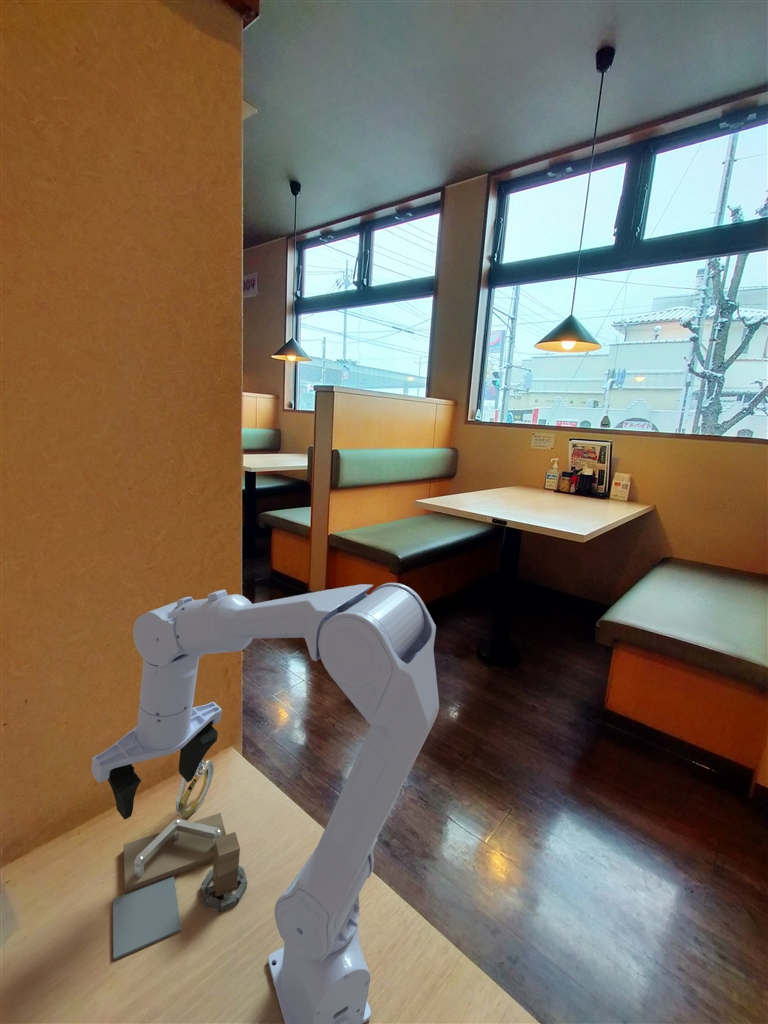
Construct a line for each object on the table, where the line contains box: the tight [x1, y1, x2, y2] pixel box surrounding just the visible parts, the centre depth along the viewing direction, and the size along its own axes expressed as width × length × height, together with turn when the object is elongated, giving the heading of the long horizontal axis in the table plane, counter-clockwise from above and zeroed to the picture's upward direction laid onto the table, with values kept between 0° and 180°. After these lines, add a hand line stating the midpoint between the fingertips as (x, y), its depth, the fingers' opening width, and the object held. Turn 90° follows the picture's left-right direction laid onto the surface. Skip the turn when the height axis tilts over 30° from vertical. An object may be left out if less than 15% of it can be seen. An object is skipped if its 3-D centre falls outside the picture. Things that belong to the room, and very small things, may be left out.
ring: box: [175, 758, 214, 818], centre depth 65 cm, size 7×3×8 cm, turn 162°
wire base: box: [123, 812, 227, 895], centre depth 59 cm, size 6×12×1 cm, turn 121°
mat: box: [112, 876, 182, 961], centre depth 52 cm, size 6×6×1 cm
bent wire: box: [134, 818, 222, 879], centre depth 59 cm, size 5×10×4 cm, turn 121°
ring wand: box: [200, 831, 248, 912], centre depth 55 cm, size 5×5×7 cm
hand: (156, 793), depth 56 cm, fingers open, 7 cm apart
